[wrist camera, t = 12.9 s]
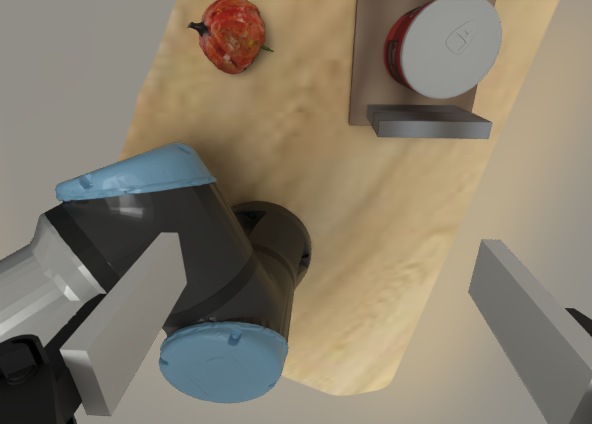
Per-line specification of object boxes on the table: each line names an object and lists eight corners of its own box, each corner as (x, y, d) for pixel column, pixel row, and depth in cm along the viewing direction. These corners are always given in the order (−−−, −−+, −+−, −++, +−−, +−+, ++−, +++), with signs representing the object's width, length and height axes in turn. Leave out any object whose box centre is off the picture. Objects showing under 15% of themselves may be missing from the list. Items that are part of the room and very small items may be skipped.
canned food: (470, 24, 36) (524, 17, 26) (429, 97, 40) (463, 114, 30) (406, -8, 35) (437, -28, 26) (369, 69, 39) (384, 77, 29)
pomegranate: (275, 10, 40) (194, -35, 34) (302, 35, 36) (215, -10, 30) (248, 68, 44) (171, 37, 38) (270, 97, 40) (187, 68, 34)
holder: (348, 122, 43) (355, 147, 33) (359, -43, 36) (372, -79, 25) (463, 124, 42) (508, 150, 32) (499, -46, 35) (572, -85, 24)
